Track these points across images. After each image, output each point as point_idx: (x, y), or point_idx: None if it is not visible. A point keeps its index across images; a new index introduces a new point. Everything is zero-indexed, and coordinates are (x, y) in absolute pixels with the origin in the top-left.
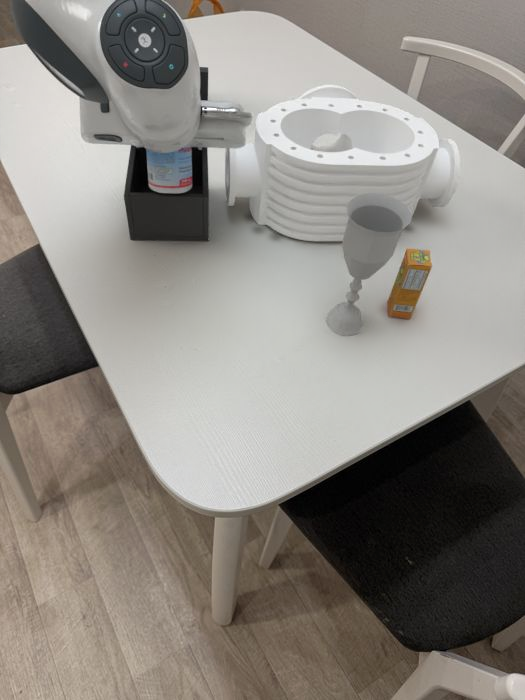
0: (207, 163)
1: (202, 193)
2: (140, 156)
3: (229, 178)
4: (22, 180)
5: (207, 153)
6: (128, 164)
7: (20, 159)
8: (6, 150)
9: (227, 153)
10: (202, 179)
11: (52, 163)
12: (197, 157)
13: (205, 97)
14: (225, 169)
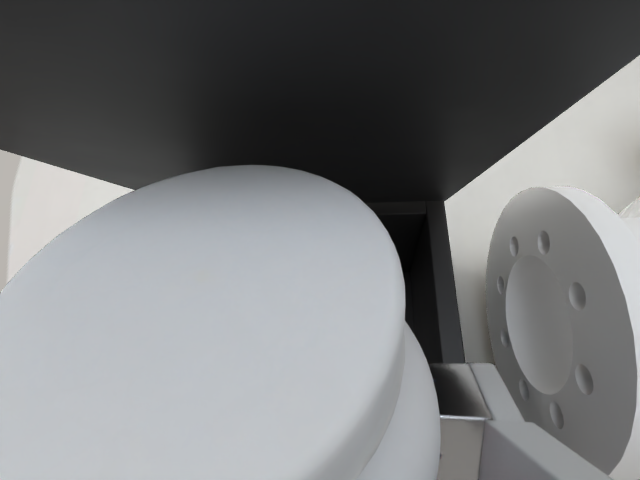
0: (457, 312)
1: (412, 302)
2: None
3: (584, 446)
4: (20, 257)
5: (449, 246)
6: None
7: (35, 193)
8: (19, 170)
9: (536, 255)
10: (416, 280)
11: (88, 200)
12: (405, 231)
13: (570, 93)
14: (494, 257)
